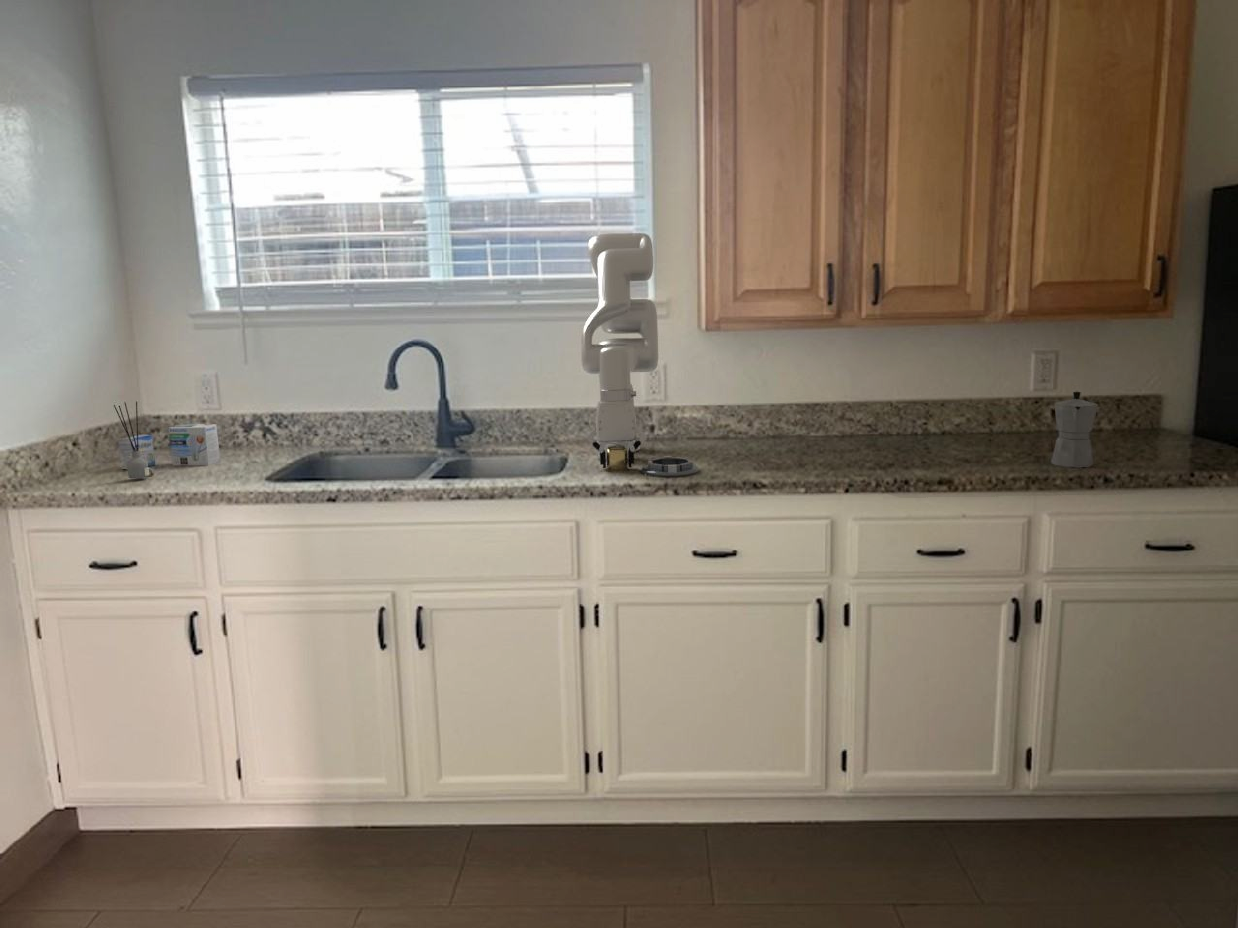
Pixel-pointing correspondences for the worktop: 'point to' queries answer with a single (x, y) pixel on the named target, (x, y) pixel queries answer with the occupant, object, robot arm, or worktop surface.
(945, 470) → the worktop surface
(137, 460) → the reed diffuser
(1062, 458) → the coffeepot
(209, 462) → the light bulb box
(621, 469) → the brass lock cylinder
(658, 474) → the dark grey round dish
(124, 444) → the medicine box
